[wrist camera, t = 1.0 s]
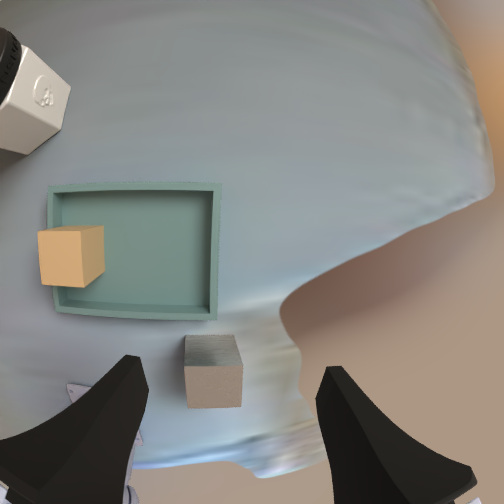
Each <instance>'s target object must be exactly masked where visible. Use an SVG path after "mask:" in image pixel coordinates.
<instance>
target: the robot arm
mask: <svg viewBox="0 0 504 504" xmlns="http://www.w3.org/2000/svg"><path fill="white" fill-rule="evenodd" d="M66 387H67V390H68V393H69V396H70V398H71V401H72V403H73V404H71V405H70V406H69V407H67V408H66V409H65V410H63V411H62V412H60V413H59V414H57V415H56V416H54V417H53V418H51V419H49V420H48V421H46V422H44V423H42V424H40V425H39V426H37V427H35V428H33V429H30V430H28V431H26V432H24V433H21V434H19V435H16V436H13V437H10V438H7V439H3V440H0V480H1V481H2V482H3V483H4V484H6V485H7V486H8V487H9V489H8V490H7V489H5V488H4V487H3V486H2V485H1V484H0V504H139V499H138V496H137V494H136V492H135V490H134V488H133V487H131V486H129V485H127V484H128V481H129V480H130V477H131V471H132V464H133V457H134V451H135V446H142V445H143V441H142V438H141V435H140V431H139V426H140V424H141V421H142V418H143V415H144V412H145V407H146V403H147V398H148V393H149V388H148V385H147V381H146V378H145V374H144V371H143V367H142V363H141V359H140V357H137V356H131V355H125V356H124V357H123V358H122V359H121V360H120V361H119V362H118V363H117V364H116V365H115V366H114V367H113V368H111V369H110V370H109V371H108V372H107V373H106V374H105V375H104V376H103V377H102V378H101V379H100V380H99V381H98V382H97V383H96V384H95V385H94V386H93V387H87V386H81V385H76V384H70V383H68V384H67V386H66ZM71 390H72V391H71ZM315 399H316V407H317V415H318V421H319V425H320V429H321V433H322V437H323V440H324V444H325V448H326V452H327V456H328V459H329V463H330V468H331V474H332V482H333V492H334V504H455V503H454V500H455V499H456V498H458V497H459V496H461V495H462V494H464V493H465V492H467V491H468V490H470V489H471V488H473V487H474V486H475V485H476V484H477V480H476V477H475V475H474V473H473V471H472V469H471V467H470V466H467V465H464V464H462V463H459V462H456V461H453V460H451V459H448V458H446V457H444V456H442V455H440V454H438V453H436V452H434V451H433V450H431V449H429V448H427V447H426V446H424V445H423V444H421V443H419V442H418V441H416V440H415V439H413V438H412V437H410V436H409V435H408V434H407V433H405V432H404V431H403V430H401V429H400V428H399V427H398V426H396V425H395V424H394V423H393V422H392V421H391V420H390V419H389V418H388V417H387V416H386V415H385V414H384V413H382V411H381V410H380V409H378V407H376V405H374V403H373V402H372V401H371V400H370V399H369V398H368V397H367V396H366V394H365V393H364V392H363V391H362V390H361V389H360V387H358V385H357V384H356V383H355V382H354V380H353V379H352V378H351V377H350V376H349V374H348V373H347V372H346V371H345V370H344V368H343V367H342V366H329V367H326V370H325V373H324V376H323V379H322V382H321V385H320V387H319V390H318V393H317V396H316V398H315ZM467 504H481V501H480V499H479V497H476V498H475V499H473V500H472V501H470V502H468V503H467Z"/></svg>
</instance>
